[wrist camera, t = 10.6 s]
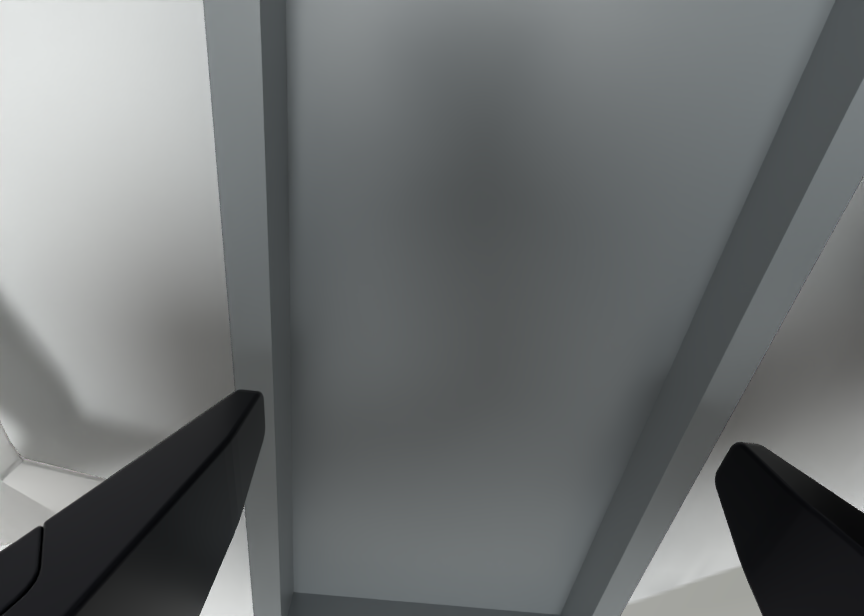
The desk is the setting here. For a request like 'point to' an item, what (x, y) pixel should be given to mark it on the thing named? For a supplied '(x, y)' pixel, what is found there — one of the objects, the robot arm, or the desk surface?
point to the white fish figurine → (34, 491)
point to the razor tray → (510, 276)
